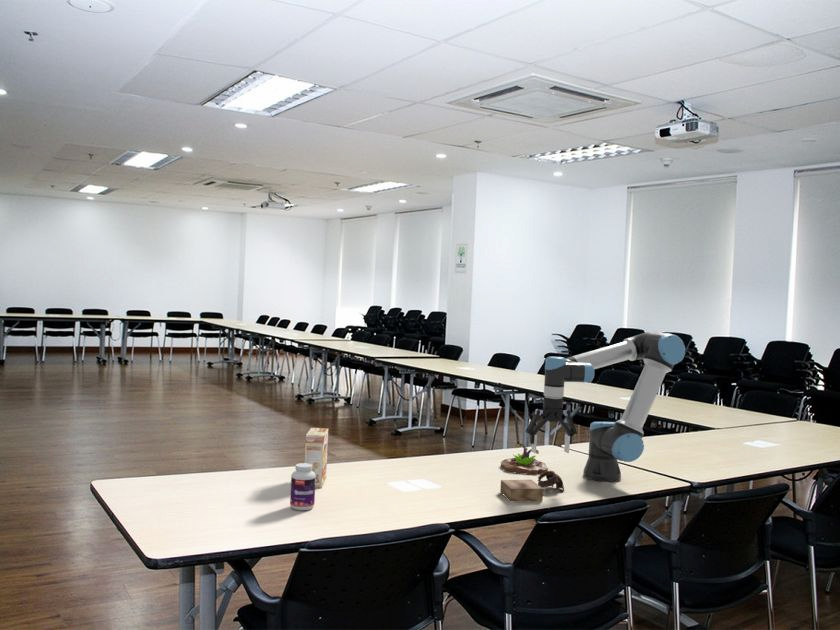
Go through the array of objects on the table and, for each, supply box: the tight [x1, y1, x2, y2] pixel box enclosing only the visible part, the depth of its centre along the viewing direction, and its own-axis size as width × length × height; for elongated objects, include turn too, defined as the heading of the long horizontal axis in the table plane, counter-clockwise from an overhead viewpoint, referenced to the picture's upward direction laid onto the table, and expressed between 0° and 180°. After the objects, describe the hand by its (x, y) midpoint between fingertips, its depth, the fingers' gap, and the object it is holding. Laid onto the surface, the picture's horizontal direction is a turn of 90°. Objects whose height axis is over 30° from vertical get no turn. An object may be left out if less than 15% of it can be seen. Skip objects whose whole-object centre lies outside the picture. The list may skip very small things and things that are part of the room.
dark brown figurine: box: [537, 470, 565, 492], centre depth 276 cm, size 12×10×8 cm
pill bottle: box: [289, 462, 316, 512], centre depth 239 cm, size 8×8×14 cm
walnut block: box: [500, 479, 544, 502], centre depth 263 cm, size 12×12×5 cm
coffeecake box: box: [304, 427, 329, 489], centre depth 271 cm, size 15×7×20 cm, turn 0°
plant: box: [500, 443, 549, 475], centre depth 307 cm, size 20×20×11 cm
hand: (550, 452), depth 275 cm, fingers open, 13 cm apart
